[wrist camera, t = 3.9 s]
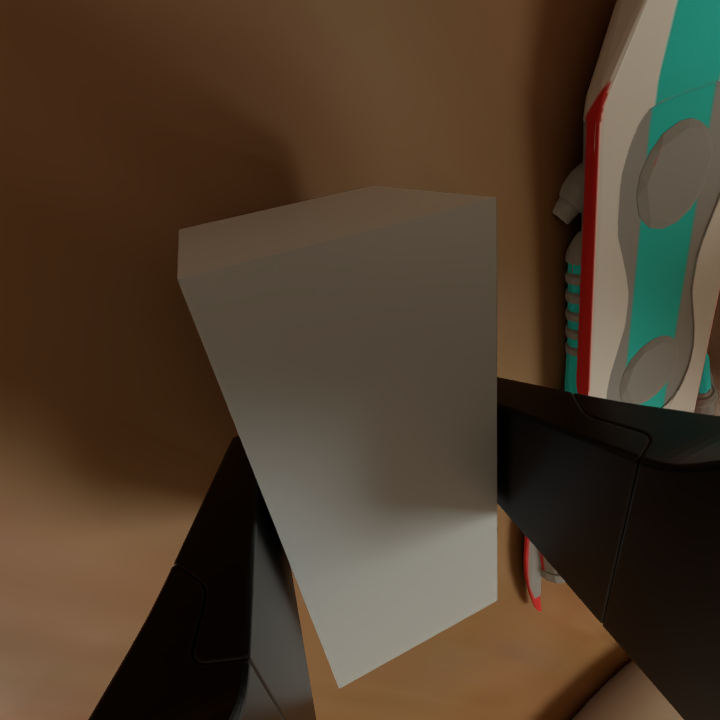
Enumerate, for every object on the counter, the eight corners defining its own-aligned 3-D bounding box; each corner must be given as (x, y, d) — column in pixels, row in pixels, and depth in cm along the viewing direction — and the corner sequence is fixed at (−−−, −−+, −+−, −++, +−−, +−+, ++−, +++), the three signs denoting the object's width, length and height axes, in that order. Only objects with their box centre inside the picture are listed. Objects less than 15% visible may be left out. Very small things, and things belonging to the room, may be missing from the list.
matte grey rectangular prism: (373, 184, 9) (496, 197, 5) (415, 488, 13) (497, 600, 10) (178, 229, 8) (177, 279, 4) (294, 541, 12) (339, 688, 9)
